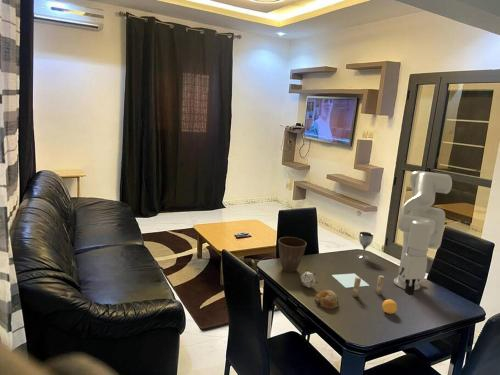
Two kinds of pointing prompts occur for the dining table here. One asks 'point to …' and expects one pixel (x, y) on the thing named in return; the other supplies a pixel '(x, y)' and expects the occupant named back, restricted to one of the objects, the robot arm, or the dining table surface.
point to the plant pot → (291, 252)
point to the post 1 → (356, 286)
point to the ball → (389, 306)
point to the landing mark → (348, 280)
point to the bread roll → (327, 299)
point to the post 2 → (380, 285)
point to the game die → (308, 279)
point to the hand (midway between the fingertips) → (408, 293)
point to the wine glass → (365, 242)
